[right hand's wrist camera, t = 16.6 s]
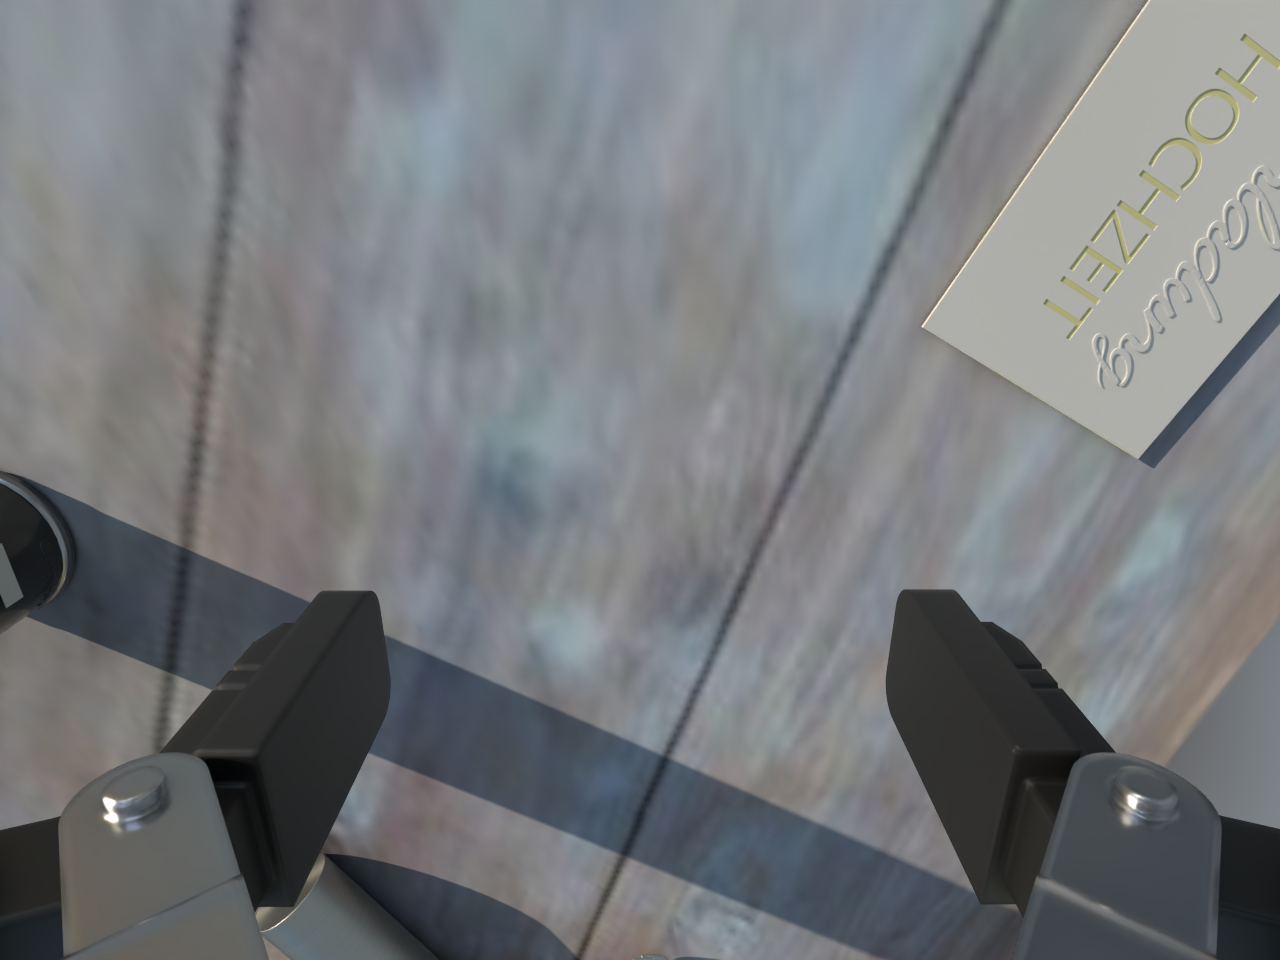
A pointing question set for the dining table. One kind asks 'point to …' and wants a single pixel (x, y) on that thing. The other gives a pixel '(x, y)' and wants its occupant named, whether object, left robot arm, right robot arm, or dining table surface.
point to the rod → (337, 923)
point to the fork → (651, 957)
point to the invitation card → (1138, 227)
